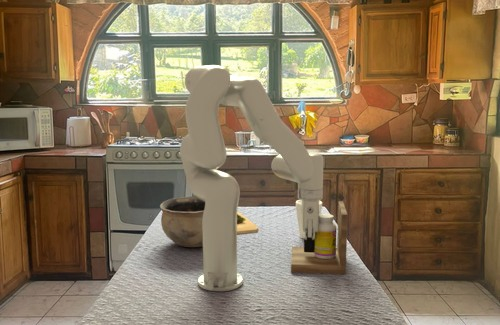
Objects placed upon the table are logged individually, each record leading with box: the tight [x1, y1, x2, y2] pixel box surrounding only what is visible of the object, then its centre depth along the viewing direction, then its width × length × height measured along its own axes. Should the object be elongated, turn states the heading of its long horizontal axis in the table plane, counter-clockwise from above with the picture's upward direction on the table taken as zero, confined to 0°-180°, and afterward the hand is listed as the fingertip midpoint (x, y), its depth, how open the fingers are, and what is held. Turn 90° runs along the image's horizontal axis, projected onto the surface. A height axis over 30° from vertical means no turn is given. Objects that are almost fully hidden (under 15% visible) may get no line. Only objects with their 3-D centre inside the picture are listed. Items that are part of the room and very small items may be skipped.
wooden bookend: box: [290, 200, 348, 275], centre depth 156 cm, size 16×16×18 cm
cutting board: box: [237, 210, 259, 235], centre depth 203 cm, size 35×23×8 cm
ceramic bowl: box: [159, 195, 205, 248], centre depth 175 cm, size 22×22×15 cm
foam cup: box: [295, 199, 323, 240], centre depth 183 cm, size 10×9×13 cm
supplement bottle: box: [314, 213, 337, 259], centre depth 155 cm, size 7×7×13 cm
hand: (309, 251), depth 157 cm, fingers closed
